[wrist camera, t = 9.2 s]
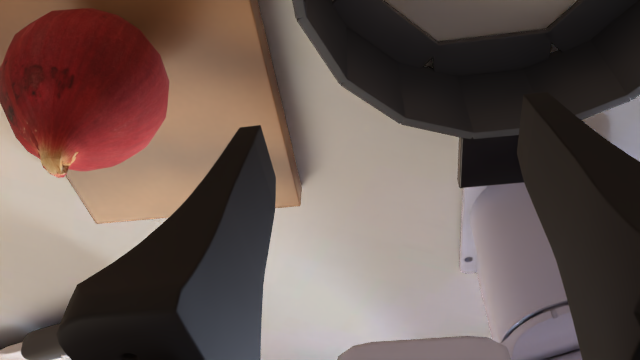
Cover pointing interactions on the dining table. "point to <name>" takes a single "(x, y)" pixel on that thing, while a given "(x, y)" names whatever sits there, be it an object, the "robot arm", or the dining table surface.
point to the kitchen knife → (36, 346)
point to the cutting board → (184, 101)
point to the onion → (83, 89)
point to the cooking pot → (478, 72)
